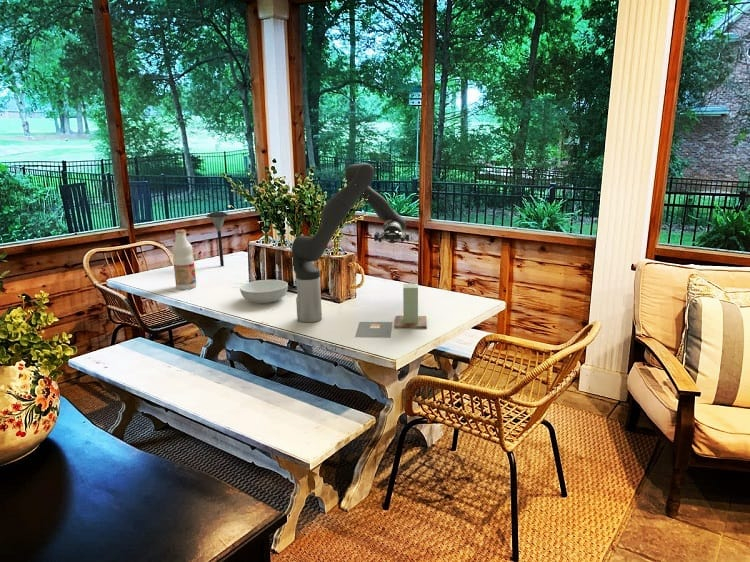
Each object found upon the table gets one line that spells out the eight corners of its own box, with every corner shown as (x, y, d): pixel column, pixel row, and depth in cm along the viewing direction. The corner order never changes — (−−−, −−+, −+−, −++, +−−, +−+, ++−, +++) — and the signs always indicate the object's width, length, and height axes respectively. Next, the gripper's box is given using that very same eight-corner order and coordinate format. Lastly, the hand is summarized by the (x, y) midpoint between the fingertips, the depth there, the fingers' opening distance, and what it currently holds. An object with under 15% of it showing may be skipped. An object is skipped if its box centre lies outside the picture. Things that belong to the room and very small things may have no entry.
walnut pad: (394, 328, 213) (394, 326, 213) (395, 318, 225) (395, 315, 225) (426, 328, 212) (426, 326, 212) (426, 318, 224) (426, 315, 224)
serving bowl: (267, 291, 266) (266, 276, 264) (298, 298, 253) (297, 284, 251) (231, 301, 250) (229, 286, 249) (262, 310, 237) (260, 294, 236)
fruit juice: (173, 287, 275) (167, 230, 268) (192, 283, 281) (187, 227, 273) (179, 291, 268) (173, 232, 261) (199, 287, 273) (193, 230, 266)
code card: (354, 337, 205) (354, 337, 205) (359, 321, 221) (359, 321, 221) (390, 338, 204) (390, 337, 204) (392, 322, 220) (392, 321, 220)
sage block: (403, 323, 216) (403, 287, 212) (403, 318, 221) (403, 283, 218) (417, 323, 216) (418, 287, 212) (417, 318, 221) (417, 283, 217)
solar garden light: (216, 269, 307) (211, 214, 299) (207, 266, 316) (201, 212, 308) (237, 266, 315) (232, 212, 307) (227, 262, 324) (222, 210, 316)
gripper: (376, 223, 240) (373, 230, 225) (409, 223, 239) (409, 230, 223) (376, 241, 242) (373, 249, 227) (409, 241, 241) (409, 249, 225)
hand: (391, 239), depth 225 cm, fingers open, 8 cm apart
